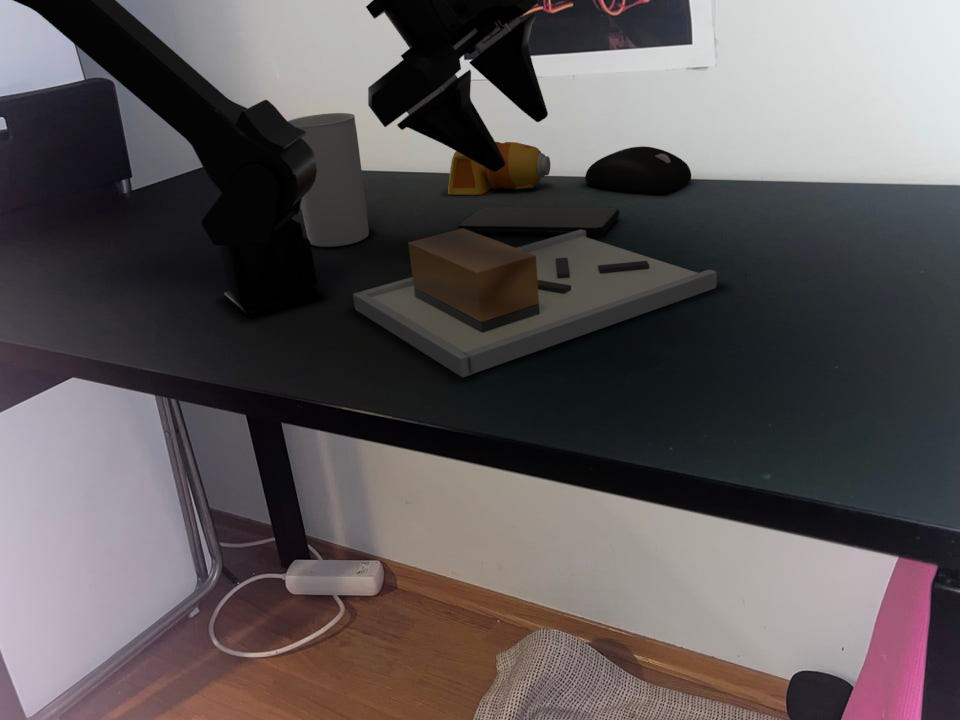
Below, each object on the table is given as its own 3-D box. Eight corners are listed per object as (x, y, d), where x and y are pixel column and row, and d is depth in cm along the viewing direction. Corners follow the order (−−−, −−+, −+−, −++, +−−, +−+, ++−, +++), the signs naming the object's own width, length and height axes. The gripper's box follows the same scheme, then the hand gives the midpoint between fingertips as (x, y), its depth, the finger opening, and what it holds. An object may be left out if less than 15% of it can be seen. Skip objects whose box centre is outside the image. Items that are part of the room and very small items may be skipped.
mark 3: (649, 269, 70) (649, 264, 70) (599, 273, 70) (599, 269, 70) (646, 265, 71) (646, 260, 71) (597, 269, 71) (597, 265, 71)
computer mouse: (606, 173, 105) (605, 139, 103) (698, 181, 98) (699, 145, 96) (571, 188, 100) (570, 153, 98) (666, 197, 93) (666, 160, 91)
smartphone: (481, 206, 92) (620, 207, 87) (482, 215, 93) (620, 216, 87) (455, 225, 87) (602, 227, 81) (456, 234, 87) (603, 237, 81)
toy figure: (555, 184, 103) (459, 183, 107) (553, 136, 100) (456, 137, 104) (543, 196, 98) (444, 194, 102) (541, 146, 96) (440, 147, 100)
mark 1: (564, 294, 66) (564, 289, 66) (521, 286, 69) (521, 281, 69) (571, 290, 67) (571, 285, 67) (528, 282, 70) (528, 277, 69)
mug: (385, 231, 90) (368, 113, 85) (344, 250, 85) (324, 126, 80) (311, 224, 95) (291, 112, 90) (268, 242, 90) (245, 125, 85)
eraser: (482, 333, 61) (476, 272, 59) (414, 296, 69) (407, 242, 67) (540, 314, 63) (536, 254, 61) (468, 281, 71) (463, 227, 69)
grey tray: (462, 378, 57) (460, 358, 56) (354, 309, 70) (352, 293, 70) (716, 288, 68) (717, 271, 67) (581, 243, 81) (581, 229, 80)
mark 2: (557, 278, 70) (557, 274, 70) (555, 262, 73) (555, 258, 73) (569, 277, 70) (569, 273, 70) (567, 261, 73) (567, 257, 73)
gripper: (414, -78, 51) (564, 144, 55) (527, -137, 64) (641, 46, 68) (303, 27, 58) (444, 216, 62) (425, -46, 71) (534, 114, 76)
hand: (522, 142), depth 67 cm, fingers open, 9 cm apart
